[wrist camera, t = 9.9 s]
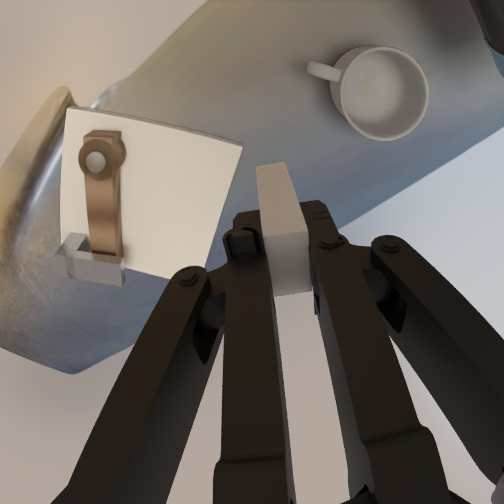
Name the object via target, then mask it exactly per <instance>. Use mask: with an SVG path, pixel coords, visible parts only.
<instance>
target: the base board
mask: <svg viewBox="0 0 504 504" xmlns="http://www.w3.org/2000/svg"><path fill="white" fill-rule="evenodd" d="M92 130H103V131H121V140H122V142H123V143H124V146H125V149H126V158H125V161H124V163H123V165H122V166H121V167H120V204H121V229H122V246H123V258H124V267H125V268H129V269H133V270H136V271H140V272H144V273H148V274H152V275H156V276H160V277H164V278H168V279H171V278H172V276H173V275H174V274H175V273H176V272H177V271H179V270H180V269H182V268H185V267H188V266H201V267H203V268H204V266H205V263H206V260H207V257H208V253H209V250H210V247H211V244H212V240H213V237H214V234H215V231H216V228H217V224H218V221H219V218H220V215H221V212H222V209H223V206H224V203H225V200H226V197H227V193H228V190H229V187H230V184H231V181H232V178H233V175H234V172H235V169H236V166H237V163H238V161H239V158H240V155H241V152H242V149H243V144H242V143H239V142H235V141H232V140H228V139H225V138H221V137H217V136H214V135H210V134H206V133H202V132H198V131H195V130H191V129H187V128H183V127H178V126H174V125H170V124H166V123H161V122H157V121H152V120H148V119H143V118H138V117H134V116H129V115H124V114H118V113H113V112H108V111H102V110H96V109H90V108H84V107H78V106H71V107H68V108H67V113H66V121H65V130H64V140H63V152H62V168H61V199H60V217H61V245H62V244H63V242H64V241H65V239H66V238H67V237H68V235H69V234H70V233H71V232H75V233H82V234H87V236H88V243H89V251H90V253H92V251H91V244H90V236H89V227H88V218H87V207H86V195H85V180H84V173H83V172H82V170H81V168H80V166H79V162H78V155H79V151H80V149H81V147H82V146H83V136H85V135H86V134H88V133H89V132H91V131H92Z"/></svg>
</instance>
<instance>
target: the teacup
mask: <svg viewBox="0 0 504 504" xmlns="http://www.w3.org/2000/svg"><path fill="white" fill-rule="evenodd" d="M306 72H307V73H308V74H311V75H314V76H317V77H320V78H323V79H326V80H330V92H331V96H332V99H333V102H334V104H335V106H336V107H337V109H338V110H339V112H340V113H341V114H342V115H343V116H344V118H345V119H346V120H347V121H348V122H349V123H350V125H351V126H352V127H353V128H354V129H355V130H356V131H358V132H359V133H360V134H362V135H364V136H366V137H367V138H370V139H373V140H378V141H391V140H396V139H399V138H401V137H404V136H406V135H407V134H409V133H410V132H411V131H412V130H414V129H415V128H416V127H417V125H418V124H419V123H420V122H421V120H422V119H423V117H424V115H425V113H426V110H427V107H428V102H429V87H428V82H427V79H426V76H425V74H424V72H423V70H422V68H421V67H420V66H419V64H418V63H417V62H416V61H415V60H414V59H413V58H412V57H411V56H409V55H408V54H407V53H405V52H403V51H402V50H399V49H396V48H392V47H383V46H362V47H357V48H355V49H352V50H350V51H348V52H346V53H345V54H344V55H343V56H341V57H340V58H339V60H338V61H337V62H336V64H335V66H334V67H331V66H328V65H325V64H322V63H319V62H315V61H309V62H308V64H307V68H306Z"/></svg>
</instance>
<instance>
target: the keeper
mask: <svg viewBox="0 0 504 504" xmlns="http://www.w3.org/2000/svg"><path fill="white" fill-rule="evenodd" d="M55 257H56V261H57V266H58V270H59V274H60V276H64V277H70V278H75V279H81V280H86V281H92V282H98V283H104V284H109V285H116V286H122V287H123V284H124V282H125V269H124V258H123V257H116V256H109V255H103V254H96V253H90V251H89V243H88V236H87V234H82V233H75V232H71V233H70V234H69V235H68V237H67V238H66V239H65V241H64V242H63V244H62V245H61V246H60V248H59V249H58V251H57V252H56V254H55Z"/></svg>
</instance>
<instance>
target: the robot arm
mask: <svg viewBox="0 0 504 504" xmlns="http://www.w3.org/2000/svg"><path fill="white" fill-rule="evenodd" d="M469 1H470V3H471V5H472V8H473V10H474V12H475V14H476V17H477V19H478V21H479V24H480V26H481V29H482V31H483V34H484V40H485V43H486V44H487V46H488V47H489V49H490V51H491V53H492V56H493V58H494V61H495V64H496V66H497V69H498V70H499V72H500V74H501V75H502V76H503V77H504V0H469ZM255 169H256V178H257V188H258V198H259V207H260V210H254V211H247V212H241V213H238V214H237V215H236V217H235V218H234V219H233V229H231V230H229V231H227V232H226V233H225V234H224V236H223V239H222V240H223V244H224V247H225V251H226V255H227V259H228V260H227V263H226V264H224V265H223V266H221V267H220V268H217V269H215V270H213V271H210V272H207V271H206V269H205V268H203V267H201V266H188V267H185V268H182V269H180V270H179V271H177V272H176V273H175V274H174V275H173V276H172V278H171V279H170V281H169V283H168V285H167V286H166V288H165V290H164V292H163V293H162V295H161V297H160V299H159V301H158V302H157V304H156V306H155V308H154V310H153V311H152V313H151V315H150V317H149V319H148V321H147V322H146V324H145V326H144V328H143V330H142V332H141V334H140V335H139V337H138V339H137V341H136V343H135V345H134V347H133V349H132V351H131V353H130V354H129V356H128V358H127V360H126V362H125V364H124V366H123V368H122V370H121V372H120V374H119V376H118V378H117V380H116V382H115V384H114V386H113V388H112V390H111V392H110V394H109V396H108V398H107V400H106V402H105V404H104V406H103V408H102V410H101V412H100V415H99V417H98V419H97V421H96V423H95V425H94V427H93V429H92V432H91V434H90V436H89V438H88V440H87V442H86V444H85V447H84V449H83V451H82V453H81V456H80V458H79V460H78V462H77V465H76V467H75V469H74V472H73V474H72V476H71V479H70V481H69V483H68V485H67V486H66V488H65V489H64V490H63V491H62V492H61V493H60V494H59V495H58V496H57V497H56V498H55V500H53V501H52V503H51V504H166V502H167V499H168V496H169V493H170V489H171V487H172V484H173V481H174V478H175V475H176V472H177V469H178V466H179V463H180V460H181V458H182V455H183V451H184V449H185V446H186V443H187V440H188V437H189V434H190V431H191V428H192V425H193V422H194V419H195V417H196V413H197V411H198V408H199V405H200V402H201V399H202V396H203V393H204V390H205V387H206V384H207V381H208V378H209V375H210V372H211V370H212V366H213V363H214V360H215V358H216V355H217V352H218V349H219V346H220V343H221V340H222V337H223V334H224V355H223V385H222V427H221V429H222V430H221V457H220V460H219V461H218V462H217V463H216V466H215V469H214V477H213V504H296V495H295V487H294V480H293V470H292V460H291V449H290V439H289V428H288V419H287V409H286V399H285V391H284V381H283V371H282V362H281V353H280V344H279V335H278V326H277V318H276V309H275V302H274V297H275V296H283V295H289V294H295V293H301V292H308V291H312V286H313V291H314V308H315V309H314V310H315V315H316V314H317V316H318V320H319V324H320V329H321V333H322V338H323V342H324V347H325V351H326V356H327V361H328V365H329V370H330V375H331V380H332V385H333V389H334V395H335V400H336V404H337V410H338V415H339V421H340V426H341V431H342V437H343V443H344V448H345V454H346V460H347V465H348V486H349V495H350V500H348V501H346V502H343V503H341V504H471V503H469V502H467V501H466V500H464V499H463V498H461V497H460V496H458V495H457V494H455V493H453V492H452V491H450V490H448V486H447V482H446V478H445V474H444V470H443V466H442V463H441V459H440V456H439V452H438V448H437V445H436V442H435V439H434V437H433V434H432V433H431V431H430V430H429V429H428V428H427V427H425V426H422V425H421V424H420V422H419V420H418V418H417V414H416V411H415V408H414V405H413V402H412V399H411V396H410V393H409V390H408V387H407V384H406V381H405V378H404V375H403V372H402V370H401V367H400V364H399V361H398V359H397V356H396V353H395V351H394V348H393V345H392V343H391V340H390V337H391V338H392V340H393V341H394V342H395V344H396V345H397V346H398V348H399V349H400V351H401V352H402V354H403V355H404V356H405V358H406V359H407V361H408V362H409V363H410V365H411V366H412V368H413V369H414V371H415V372H416V373H417V375H418V376H419V378H420V379H421V381H422V382H423V383H424V385H425V386H426V388H427V389H428V391H429V392H430V394H431V395H432V397H433V398H434V400H435V401H436V403H437V404H438V406H439V407H440V409H441V410H442V412H443V413H444V415H445V416H446V418H447V419H448V421H449V422H450V424H451V426H452V427H453V428H454V430H455V432H456V433H457V435H458V436H459V438H460V440H461V441H462V443H463V444H464V446H465V447H466V449H467V451H468V452H469V454H470V456H471V457H472V459H473V460H474V462H475V463H476V465H477V466H478V467H479V469H480V470H481V471H482V473H483V474H484V475H485V476H486V477H487V478H488V479H489V480H490V481H491V482H492V483H494V484H495V485H496V488H495V491H494V492H493V494H492V496H491V502H492V504H504V340H503V338H502V337H501V336H500V335H499V334H498V333H497V332H496V331H495V329H494V328H493V327H492V326H491V325H490V324H489V323H488V322H487V321H486V319H485V318H484V317H483V316H482V315H481V314H480V313H479V312H478V311H477V310H476V309H475V308H474V307H473V306H472V305H471V304H470V303H469V301H467V300H466V298H465V297H464V296H463V295H462V294H461V293H460V292H459V291H458V290H457V289H456V288H455V287H454V286H453V285H452V284H451V283H450V282H449V281H447V279H445V277H443V276H442V275H441V274H440V273H439V272H438V271H437V270H436V269H435V268H434V267H433V266H432V265H431V264H430V263H429V262H427V260H426V259H424V258H423V257H422V256H421V255H420V254H419V253H418V252H417V251H416V250H415V249H413V248H412V247H411V246H410V245H409V244H408V243H407V242H406V241H405V240H403V239H401V238H399V237H397V236H393V235H383V236H379V237H377V238H375V239H374V240H373V241H372V243H371V247H366V246H356V245H352V244H349V241H348V240H347V239H346V238H345V237H344V236H343V235H341V234H339V232H338V230H337V228H336V226H335V223H334V221H333V219H332V217H331V215H330V213H329V211H328V209H327V207H326V205H325V204H324V203H322V202H321V201H319V200H314V201H307V202H300V203H299V202H298V199H297V196H296V193H295V190H294V187H293V184H292V181H291V179H290V176H289V173H288V170H287V167H286V165H285V162H280V163H273V164H266V165H260V166H255ZM388 334H389V335H388ZM389 336H390V337H389Z"/></svg>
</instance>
